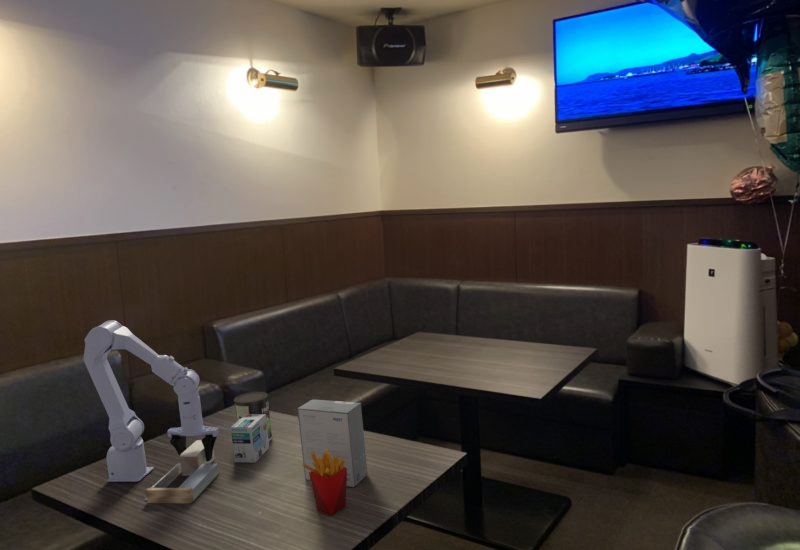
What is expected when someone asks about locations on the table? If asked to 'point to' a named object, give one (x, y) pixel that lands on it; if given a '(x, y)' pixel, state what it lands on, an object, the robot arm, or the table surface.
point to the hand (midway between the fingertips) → (196, 459)
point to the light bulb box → (250, 438)
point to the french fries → (328, 483)
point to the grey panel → (168, 478)
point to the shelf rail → (169, 495)
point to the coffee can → (253, 406)
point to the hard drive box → (334, 435)
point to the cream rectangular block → (194, 458)
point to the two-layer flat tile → (201, 478)
